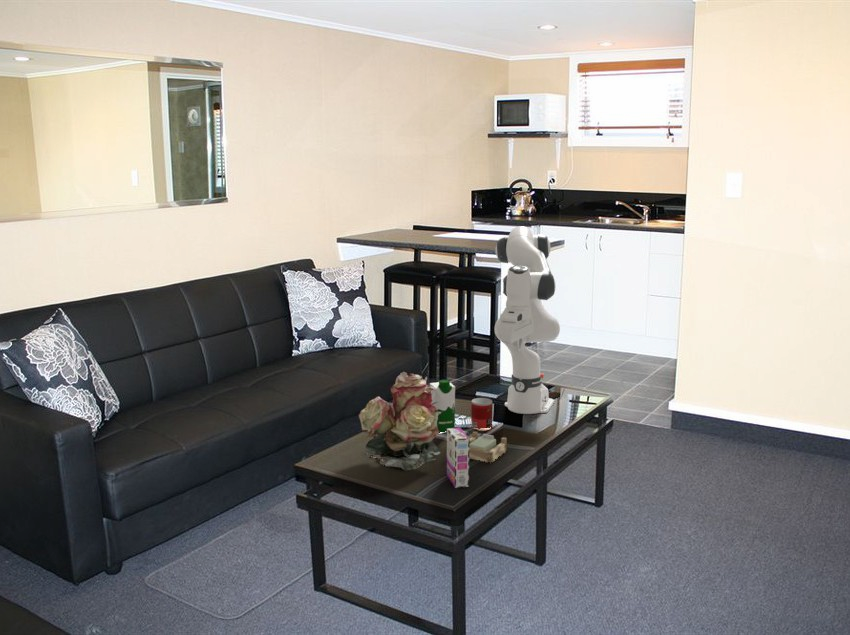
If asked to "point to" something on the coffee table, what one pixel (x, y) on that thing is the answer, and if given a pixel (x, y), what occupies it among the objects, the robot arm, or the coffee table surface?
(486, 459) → the frame
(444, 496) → the coffee table surface
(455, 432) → the candy bar box
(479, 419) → the canned food
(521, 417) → the coffee table surface
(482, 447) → the pale green box
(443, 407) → the milk carton
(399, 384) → the rose bouquet
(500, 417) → the coffee table surface
